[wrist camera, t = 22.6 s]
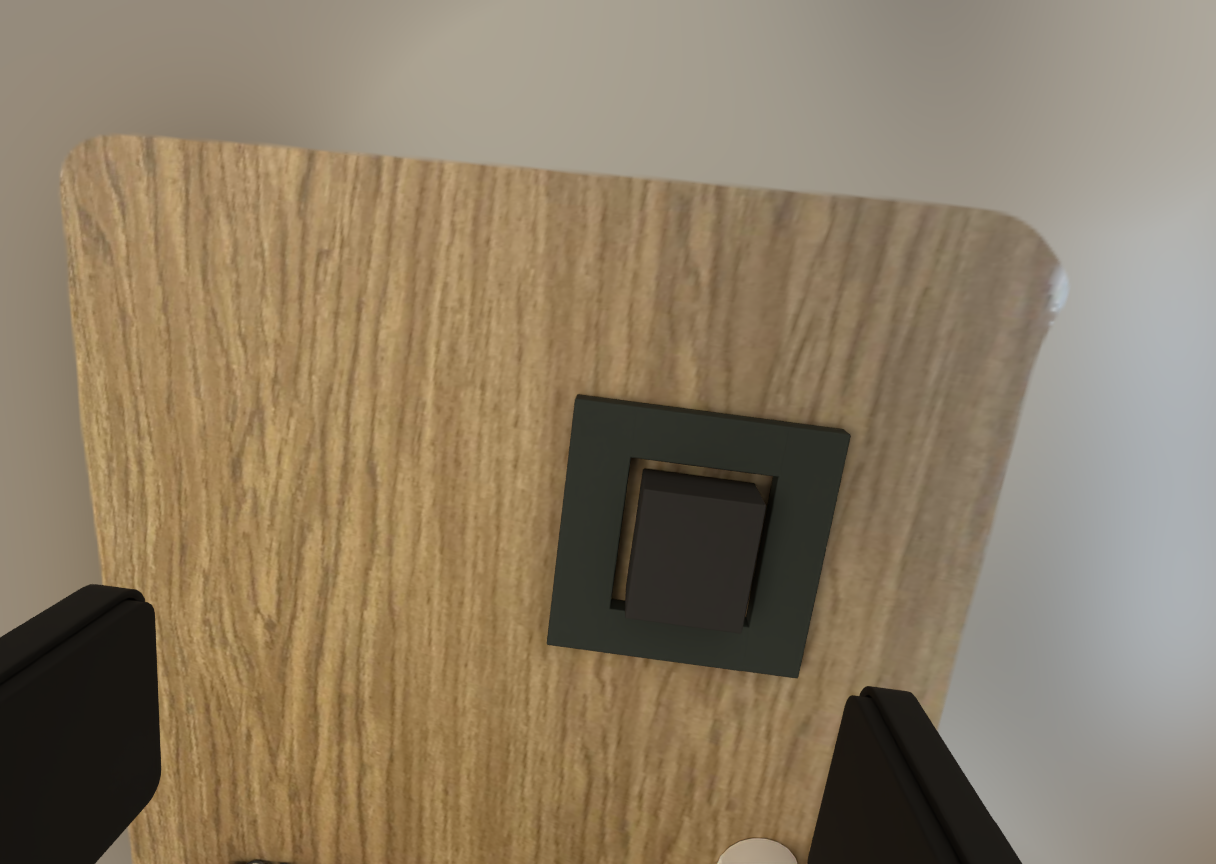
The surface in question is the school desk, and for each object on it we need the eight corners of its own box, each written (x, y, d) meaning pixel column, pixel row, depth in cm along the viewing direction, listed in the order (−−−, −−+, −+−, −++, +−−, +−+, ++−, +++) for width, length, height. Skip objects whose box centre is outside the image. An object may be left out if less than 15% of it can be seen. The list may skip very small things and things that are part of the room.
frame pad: (577, 393, 36) (575, 398, 35) (844, 429, 36) (851, 434, 35) (548, 633, 40) (546, 645, 39) (793, 667, 40) (798, 679, 39)
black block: (643, 468, 37) (643, 489, 34) (755, 483, 37) (766, 505, 34) (625, 587, 39) (624, 618, 36) (732, 602, 39) (741, 634, 35)
